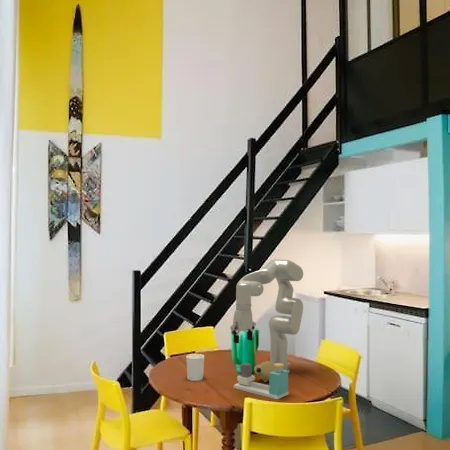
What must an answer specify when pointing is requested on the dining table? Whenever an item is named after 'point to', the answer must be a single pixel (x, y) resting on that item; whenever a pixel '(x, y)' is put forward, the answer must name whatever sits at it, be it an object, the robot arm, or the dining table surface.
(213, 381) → the dining table surface
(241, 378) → the carriage
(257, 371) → the toy pig
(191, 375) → the candle holder
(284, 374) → the rail board
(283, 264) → the robot arm
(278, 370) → the gauge plunger
